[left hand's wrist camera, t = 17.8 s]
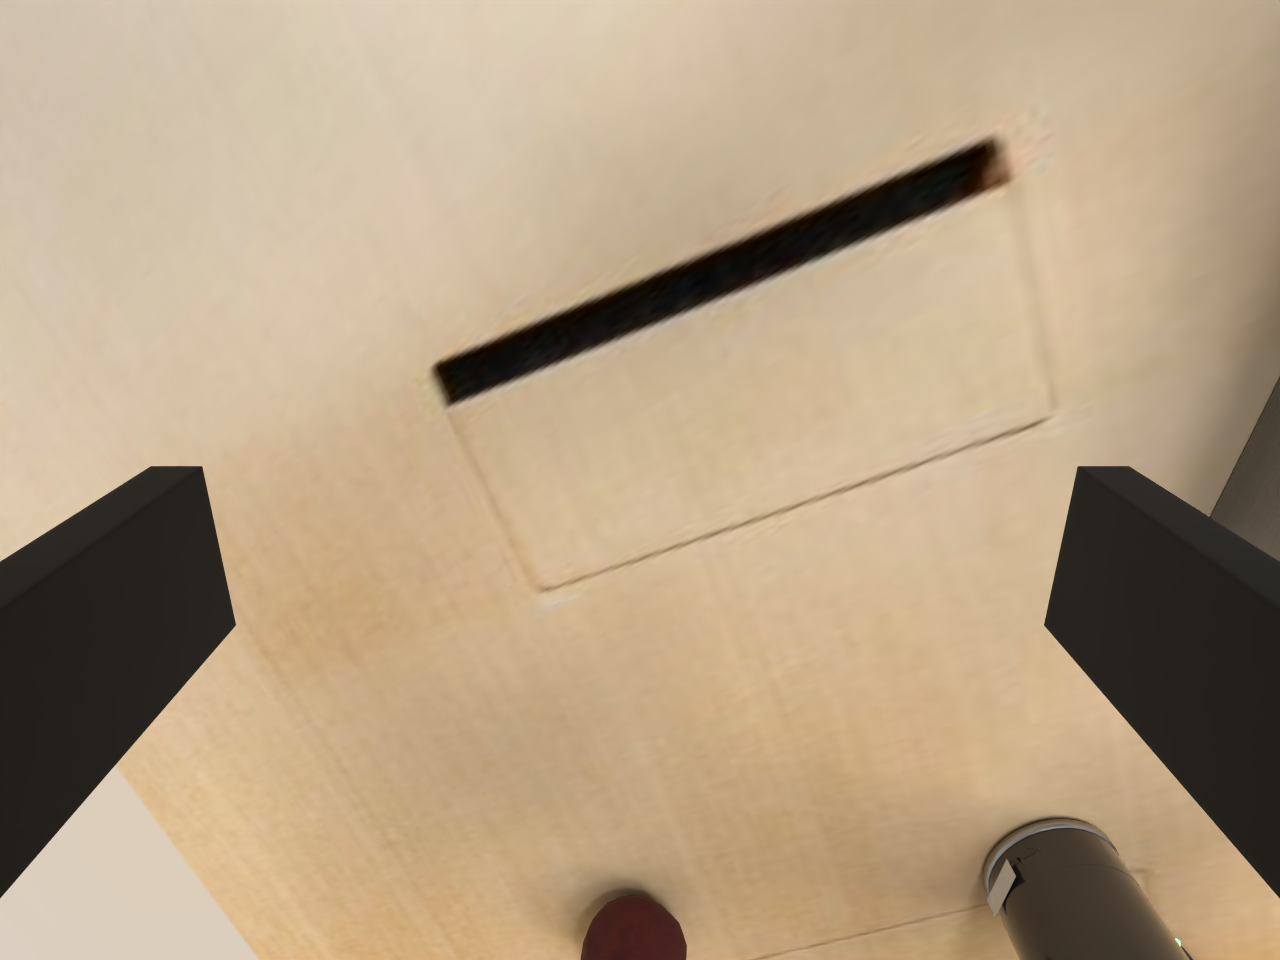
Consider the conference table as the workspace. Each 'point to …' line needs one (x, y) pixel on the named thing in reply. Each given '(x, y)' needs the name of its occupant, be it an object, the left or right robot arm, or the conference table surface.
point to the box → (1256, 485)
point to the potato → (634, 932)
